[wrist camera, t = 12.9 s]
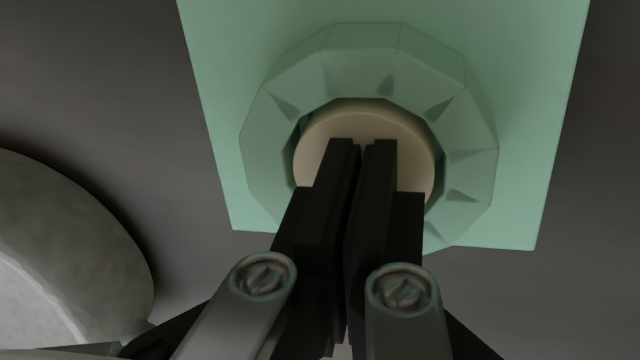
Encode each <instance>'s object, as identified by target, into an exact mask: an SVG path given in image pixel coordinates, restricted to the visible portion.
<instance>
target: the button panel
mask: <svg viewBox="0 0 640 360" xmlns="http://www.w3.org/2000/svg"><path fill="white" fill-rule="evenodd" d="M176 2H177V6H178V10H179V14H180V18H181V22H182V26H183V30H184V34H185V38H186V43H187V47H188V51H189V55H190V59H191V63H192V67H193V71H194V75H195V79H196V83H197V87H198V91H199V95H200V99H201V104H202V108H203V112H204V116H205V120H206V124H207V128H208V132H209V136H210V140H211V144H212V148H213V152H214V156H215V160H216V165H217V169H218V173H219V177H220V181H221V185H222V189H223V193H224V197H225V201H226V205H227V209H228V213H229V217H230V221H231V226H232V229H233V230H244V231H258V232H272V233H277V231H278V229H279V226H280V224H281V221H282V219H283V216H284V214H285V211H286V209H287V207H288V204H289V202H290V199H291V197H292V194H293V192H294V190H295V188H296V187H297V184H296V181H295V177H294V173H293V158H294V153H295V150H296V147H297V145H298V143H299V141H300V138H301V136H302V134H303V131H304V129H305V127H306V125H307V122H308V120H309V118H310V116H311V113H312V111H313V110H315V109H317V108H319V107H321V106H323V105H324V104H326V103H328V102H330V101H332V100H334V99H335V98H385V99H386V100H388V101H390V102H392V103H394V104H396V105H398V106H400V107H402V108H403V109H405V110H407V111H409V112H411V113H413V114H415V115H417V116H418V117H420V118H422V119H424V120H425V121H426V123H427V125H428V126H429V128H430V129H431V131H432V133H433V134H434V136H435V178H434V185H433V189H432V192H431V194H430V196H429V198H428V200H427V202H426V203H425V210H424V231H423V251H422V255H425V254H428V253H432V252H435V251H438V250H441V249H444V248H447V247H449V246H450V245H457V246H471V247H486V248H500V249H514V250H528V251H533V250H534V249H535V245H536V240H537V236H538V231H539V227H540V222H541V218H542V214H543V209H544V205H545V200H546V196H547V191H548V187H549V182H550V178H551V174H552V169H553V165H554V160H555V156H556V151H557V147H558V142H559V138H560V133H561V129H562V125H563V120H564V116H565V111H566V107H567V102H568V98H569V93H570V89H571V85H572V80H573V76H574V71H575V67H576V62H577V58H578V53H579V49H580V45H581V40H582V36H583V31H584V27H585V22H586V18H587V13H588V9H589V4H590V0H176Z"/></svg>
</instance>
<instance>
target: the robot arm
mask: <svg viewBox="0 0 640 360" xmlns="http://www.w3.org/2000/svg"><path fill="white" fill-rule="evenodd" d="M424 210H425V192H407V191H397V139H375V141H374V144H366V147H365V151H364V156H363V160H362V162H361V146H360V144H353V139H352V138H330V139H329V142H328V144H327V147H326V150H325V153H324V155H323V158H322V161H321V164H320V166H319V169H318V172H317V175H316V177H315V180H314V183H313V186H312V187H309V186H297V187H296V188H295V190H294V192H293V194H292V197H291V199H290V202H289V204H288V207H287V209H286V211H285V214H284V216H283V219H282V221H281V224H280V226H279V229H278V231H277V233H276V236H275V238H274V241H273V243H272V246H271V248H270V251H269V252H268V251H266V252H259V253H255V254H252V255H249V256H247V257H245V258H243V259H242V260H240V261H239V262H238V263H237V264H236V265H235V266H234V267H233V268H232V269H231V271H230V272H229V273H228V275H227V276H226V278H225V279H224V281H223V282H222V284H221V285H220V287H219V288H218V289H217V291H216V292H215V294H214V295H213V297H212V298H211V299H209V300H207V301H205V302H204V303H202V304H200V305H198V306H196V307H194V308H192V309H190V310H188V311H186V312H184V313H182V314H180V315H178V316H176V317H174V318H172V319H170V320H168V321H166V322H164V323H162V324H160V325H158V326H156V327H154V328H153V329H151V330H149V331H147V332H145V333H143V334H141V335H139V336H138V337H136V338H134V339H133V340H131V341H130V342H129V343H128V344H127V345H126V346H122V345H121V343H120V341H112V342H100V343H89V344H78V345H67V346H55V347H44V348H35V349H0V360H319V359H321V358H322V357H331V358H332V355H333V350H334V345H335V343H336V344H343V341H344V337H345V331H346V326H347V325H348V338H349V345H352V355H353V360H504V359H503V358H502V357H500V356H499V355H498V354H497V353H496V352H495V351H493V350H492V349H491V348H490V347H489V346H488V345H486V344H485V343H484V342H483V341H482V340H481V339H479V338H478V337H477V336H476V335H475V334H473V333H472V332H471V331H470V330H469V329H468V328H466V327H465V326H464V325H463V324H462V323H461V322H459V321H458V320H457V319H456V318H455V317H454V316H452V315H451V314H450V313H449V312H448V311H447V310H445V309H444V308H443V304H442V299H441V294H440V289H439V286H438V283H437V281H436V279H435V278H434V277H433V275H432V274H431V273H430V272H429V271H427V270H425V269H424V268H422V251H423V231H424Z"/></svg>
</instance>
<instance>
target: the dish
mask: <svg viewBox="0 0 640 360" xmlns="http://www.w3.org/2000/svg"><path fill="white" fill-rule="evenodd" d="M153 300H154V286H153V280H152V277H151V273H150V270H149V267H148V265H147V263H146V260H145V258H144V256H143V254H142V253H141V251H140V249H139V247H138V246H137V245H136V243H135V242H134V241H133V239H132V238H131V236H130V235H129V234H128V232H127V231H126V230H125V228H124V227H123V226H122V225H121V224H120V223H119V221H118V220H117V219H116V218H115V217H114V215H113V214H112V213H111V212H110V211H108V210H107V209H106V208H105V207H104V206H103V205H102V204H101V203H100V202H99V201H98V200H97V199H96V198H95V197H93V196H92V195H91V194H90V193H88V192H87V191H86V190H85V189H83V188H82V187H80V186H79V185H77V184H76V183H74V182H73V181H71V180H70V179H68V178H67V177H65V176H64V175H62V174H60V173H58V172H56V171H55V170H53V169H51V168H49V167H47V166H45V165H44V164H42V163H40V162H38V161H35V160H33V159H31V158H29V157H26V156H24V155H21V154H18V153H15V152H12V151H9V150H6V149H3V148H0V349H35V348H44V347H55V346H67V345H78V344H89V343H100V342H112V341H120V343H121V345H122V346H126V345H127V344H128V343H129V342H130V341H131V340H133V339H134V338H136V337H138V336H139V335H141V334H143V333H145V332H147V331H149V330H151V329H153V328H154V327H156V326H155V325H154V324H151V323H149V322H148V321H147V320H148V317H149V315H150V312H151V310H152V305H153Z"/></svg>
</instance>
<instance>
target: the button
mask: <svg viewBox="0 0 640 360" xmlns="http://www.w3.org/2000/svg"><path fill="white" fill-rule="evenodd" d="M330 138H352V139H353V144H360V146H361V162H362V160H363V156H364V151H365V147H366V144H374V141H375V139H397V191H407V192H425V203H426V202H427V200H428V198H429V196H430V194H431V192H432V189H433V185H434V178H435V136H434V134H433V133H432V131H431V129H430V128H429V126H428V125H427V123H426V121H425V120H424V119H422V118H420V117H418V116H417V115H415V114H413V113H411V112H409V111H407V110H405V109H403V108H402V107H400V106H398V105H396V104H394V103H392V102H390V101H388V100H386V99H385V98H335V99H334V100H332V101H330V102H328V103H326V104H324V105H323V106H321V107H319V108H317V109H315V110H313V111H312V113H311V116H310V118H309V120H308V122H307V125H306V127H305V129H304V131H303V134H302V136H301V138H300V141H299V143H298V145H297V147H296V150H295V153H294V158H293V173H294V177H295V181H296V184H297V186H309V187H312V186H313V183H314V180H315V177H316V175H317V172H318V169H319V166H320V164H321V161H322V158H323V155H324V153H325V150H326V147H327V144H328V142H329V139H330Z"/></svg>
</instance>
